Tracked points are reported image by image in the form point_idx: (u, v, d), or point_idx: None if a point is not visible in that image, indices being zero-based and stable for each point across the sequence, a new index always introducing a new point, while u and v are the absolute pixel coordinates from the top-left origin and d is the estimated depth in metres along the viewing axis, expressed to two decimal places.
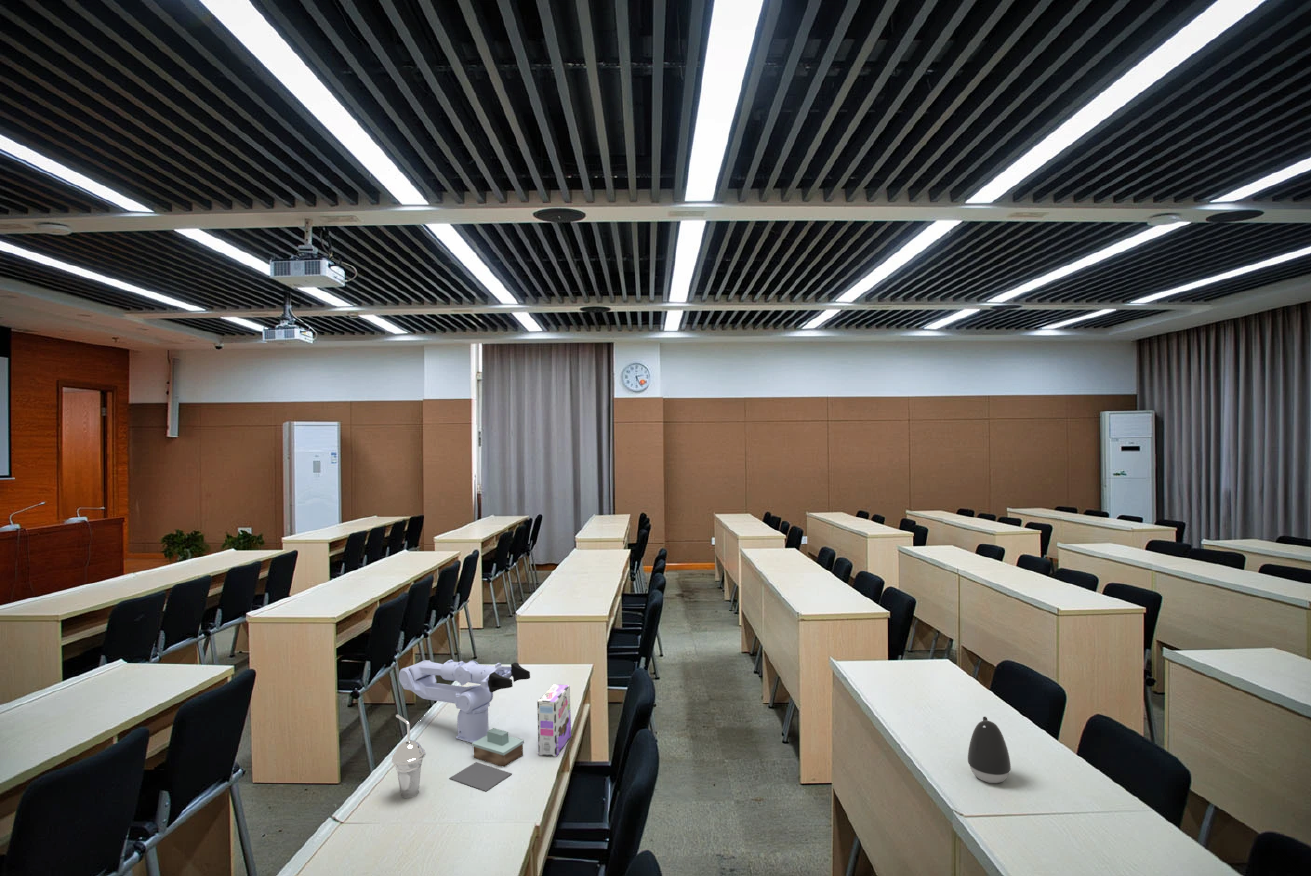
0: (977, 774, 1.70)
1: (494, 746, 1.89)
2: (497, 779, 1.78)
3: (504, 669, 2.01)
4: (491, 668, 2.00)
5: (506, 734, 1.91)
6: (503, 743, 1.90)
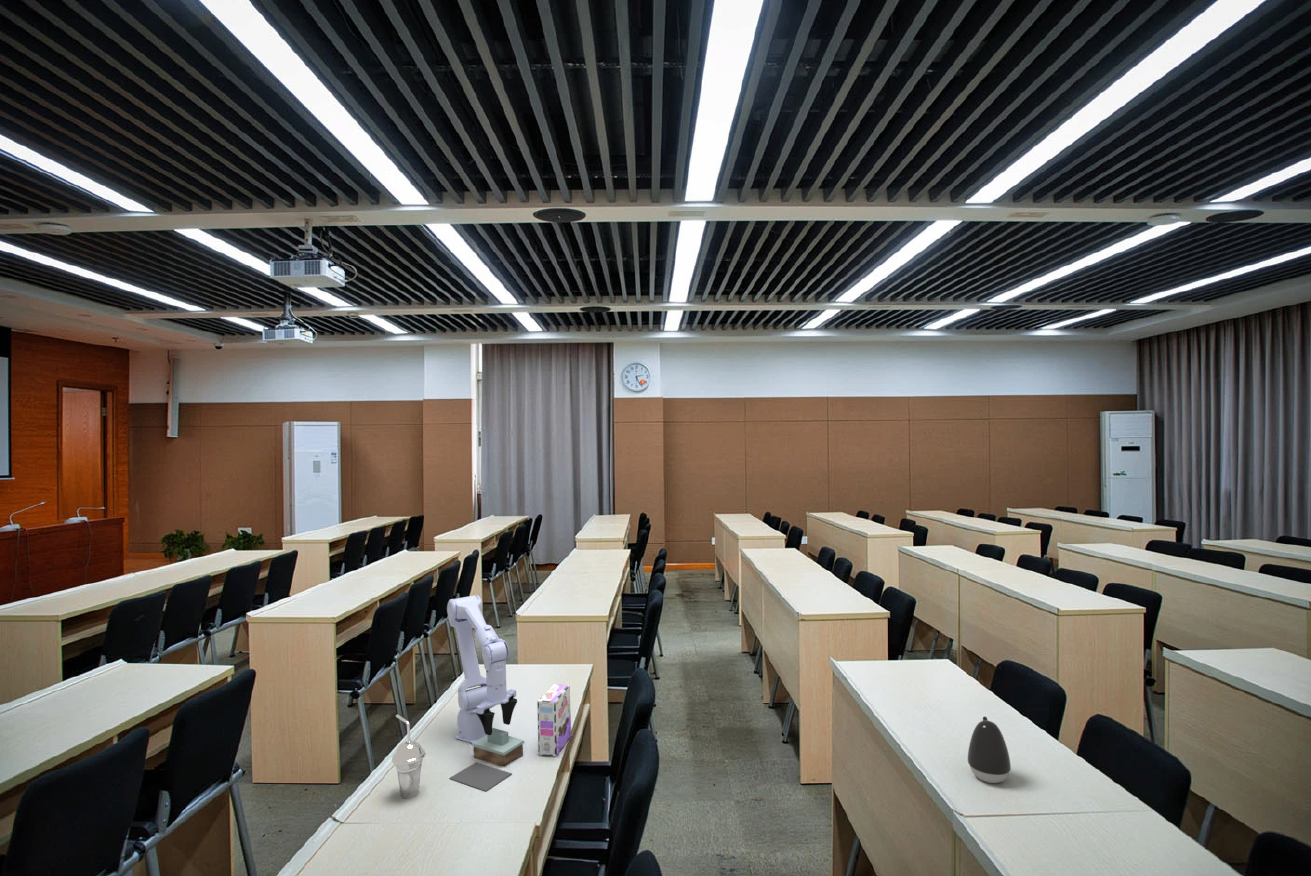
0: (977, 774, 1.70)
1: (494, 746, 1.89)
2: (497, 779, 1.78)
3: None
4: (501, 695, 1.90)
5: (506, 734, 1.91)
6: (503, 743, 1.90)
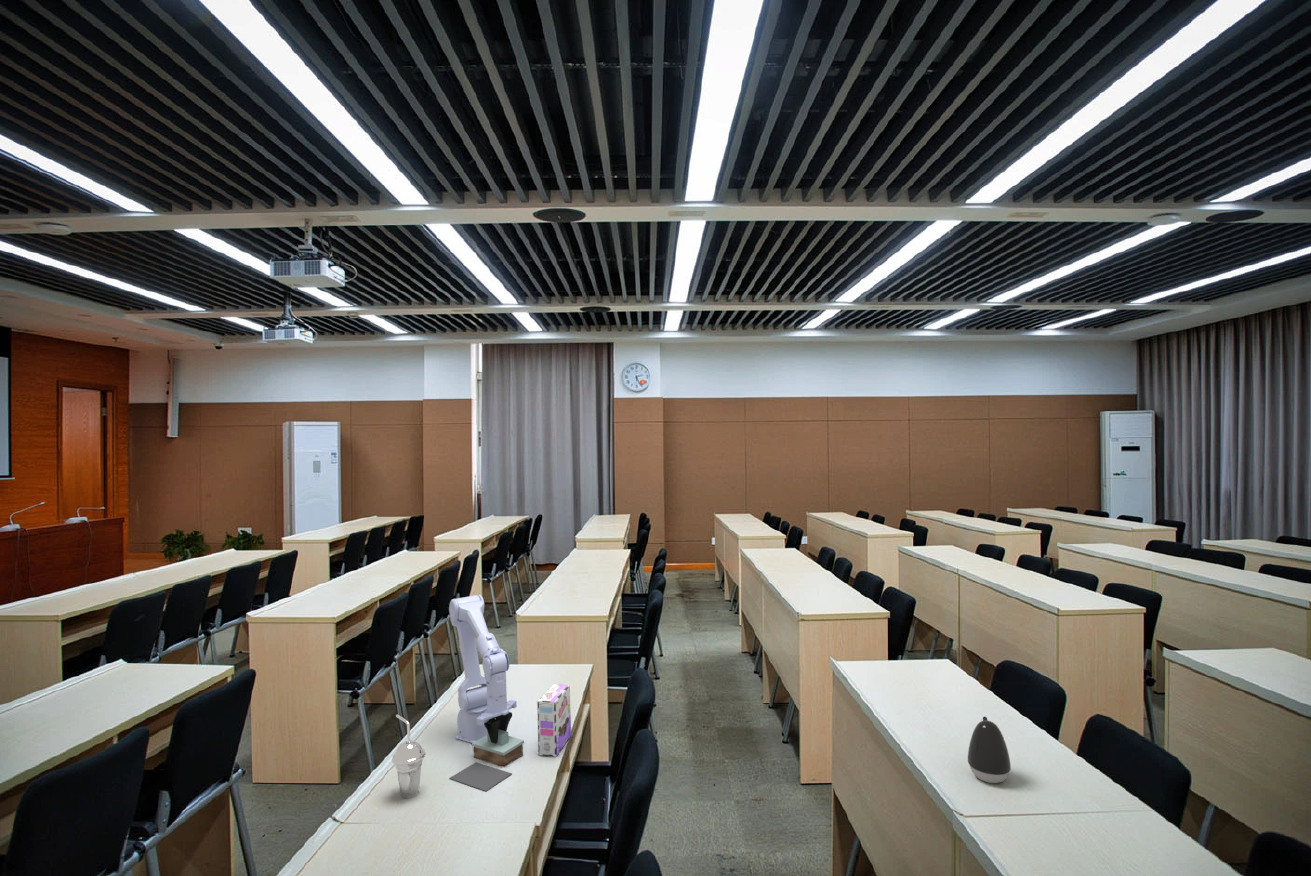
0: (977, 774, 1.70)
1: (494, 746, 1.89)
2: (497, 779, 1.78)
3: None
4: (501, 706, 1.90)
5: (506, 734, 1.91)
6: (503, 743, 1.90)
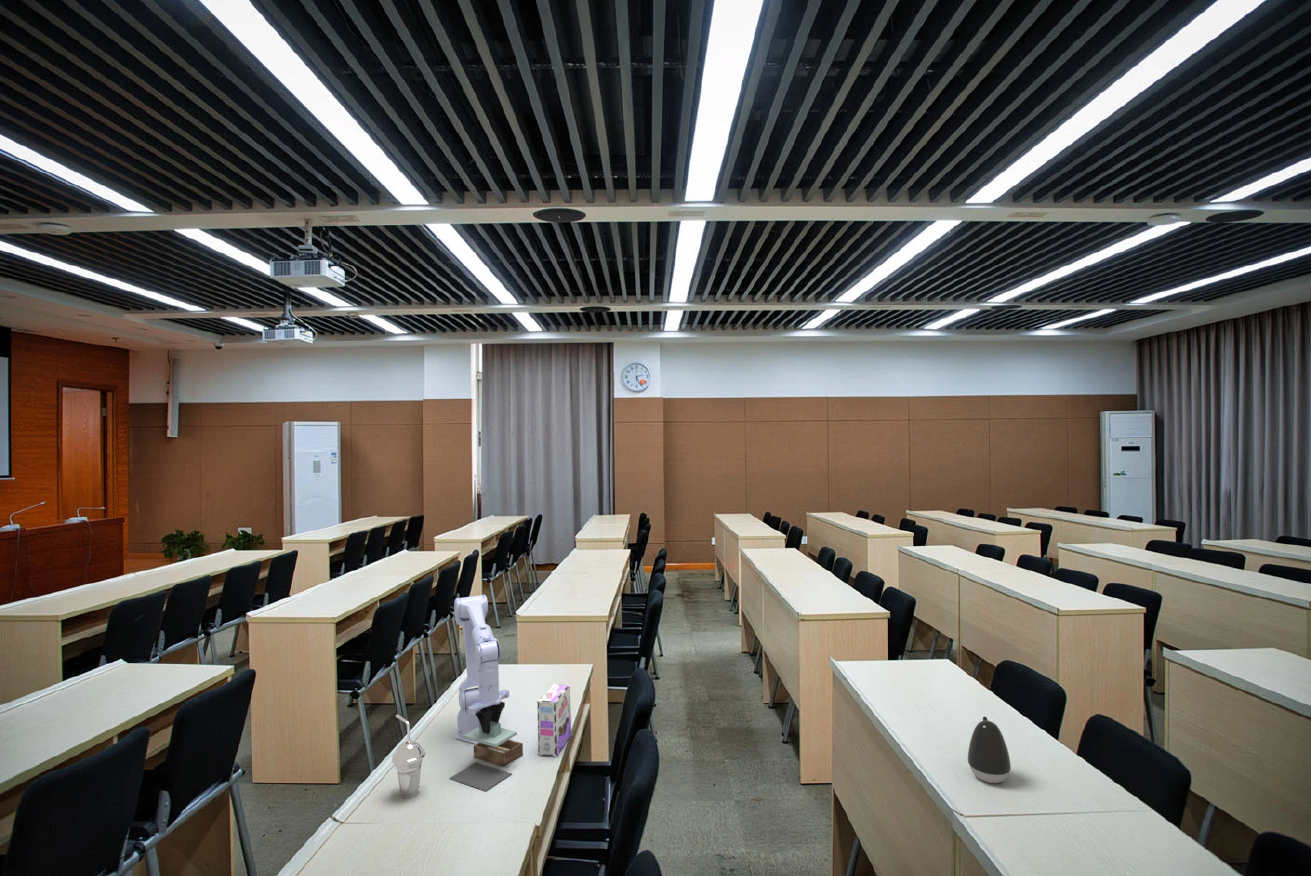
0: (977, 774, 1.70)
1: (486, 738, 1.84)
2: (497, 779, 1.78)
3: None
4: (493, 695, 1.85)
5: (498, 726, 1.86)
6: (495, 735, 1.85)
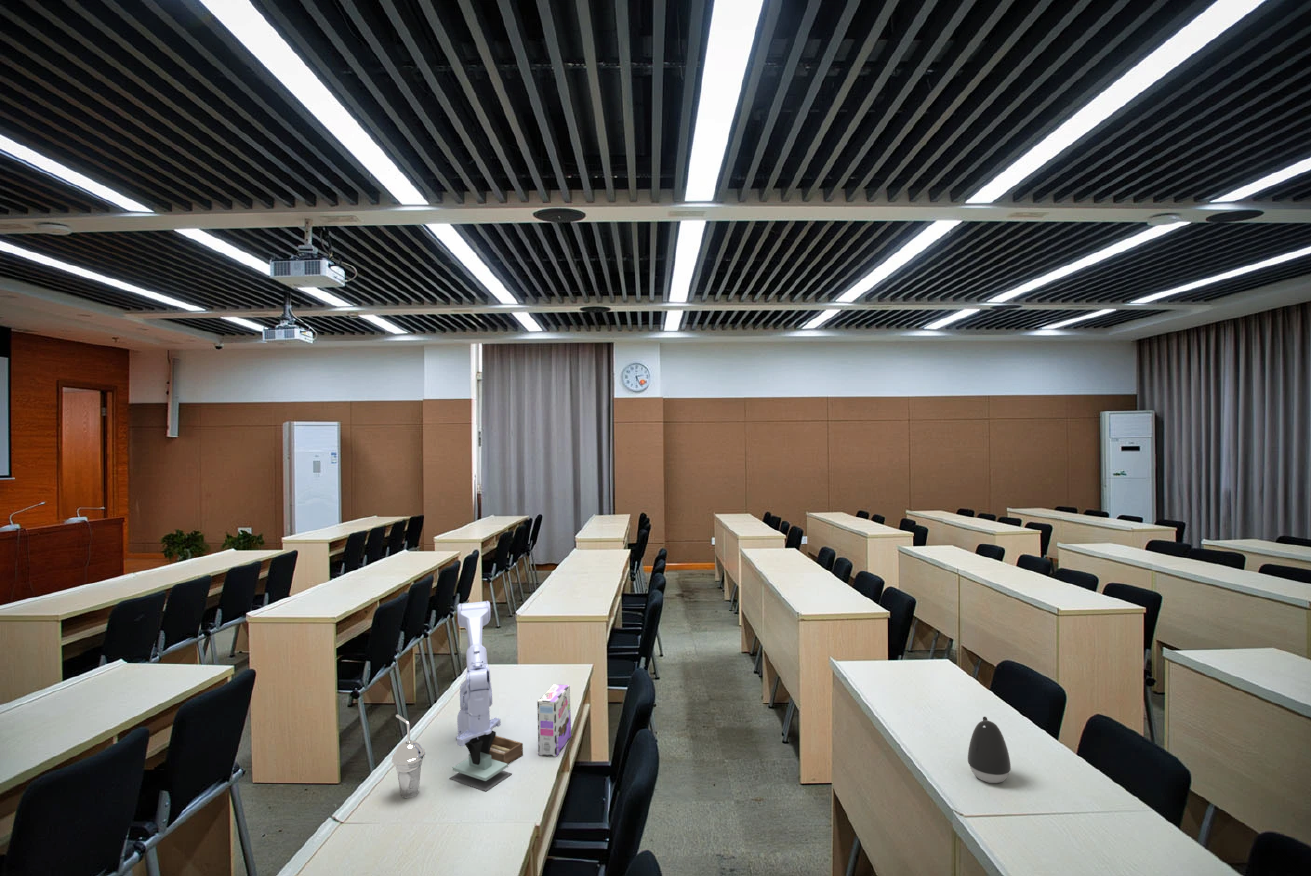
0: (977, 774, 1.70)
1: (476, 771, 1.78)
2: (497, 779, 1.78)
3: None
4: (484, 725, 1.78)
5: (489, 758, 1.79)
6: (485, 767, 1.78)
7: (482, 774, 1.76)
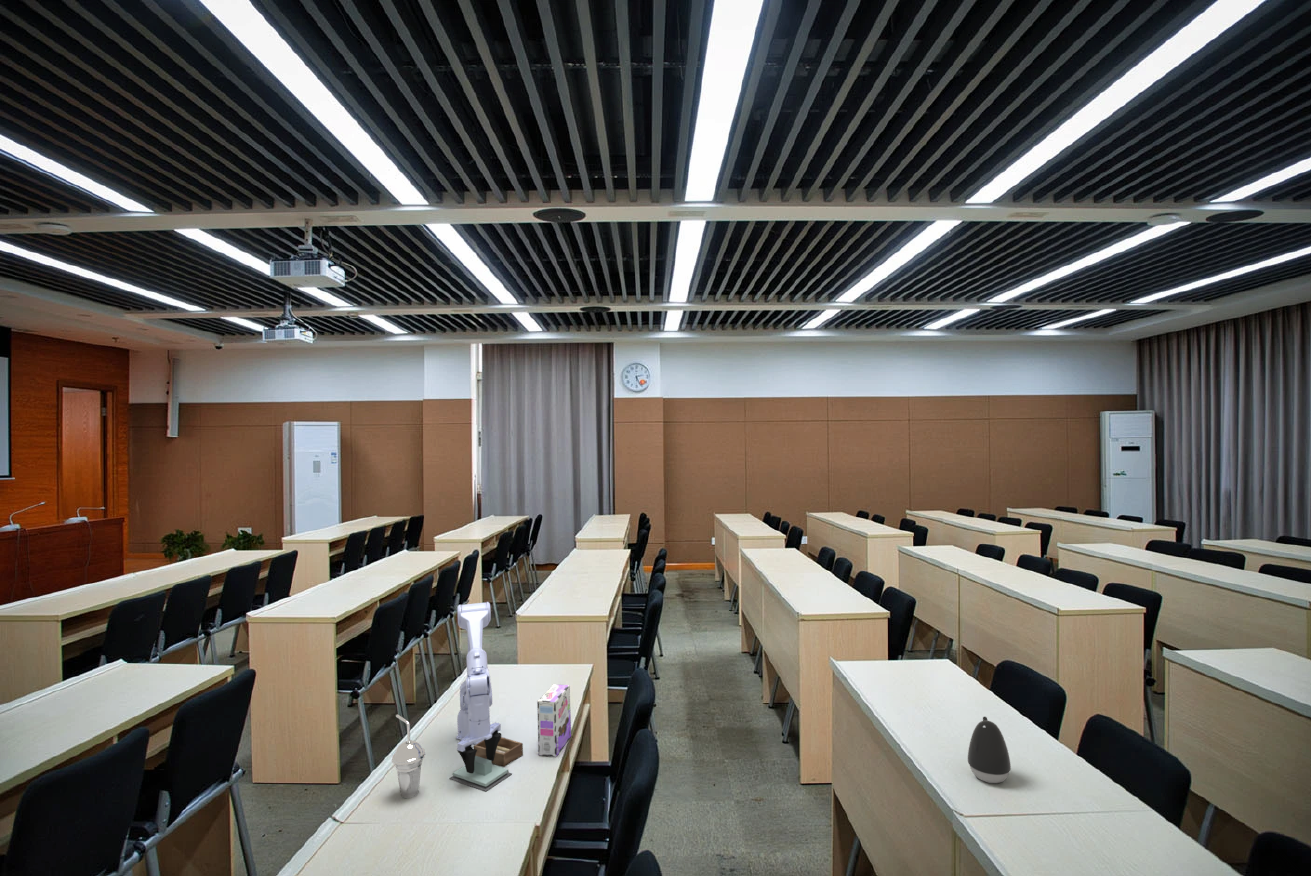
0: (977, 774, 1.70)
1: (476, 776, 1.78)
2: (497, 779, 1.78)
3: None
4: (484, 730, 1.78)
5: (489, 763, 1.79)
6: (486, 773, 1.78)
7: (482, 780, 1.76)
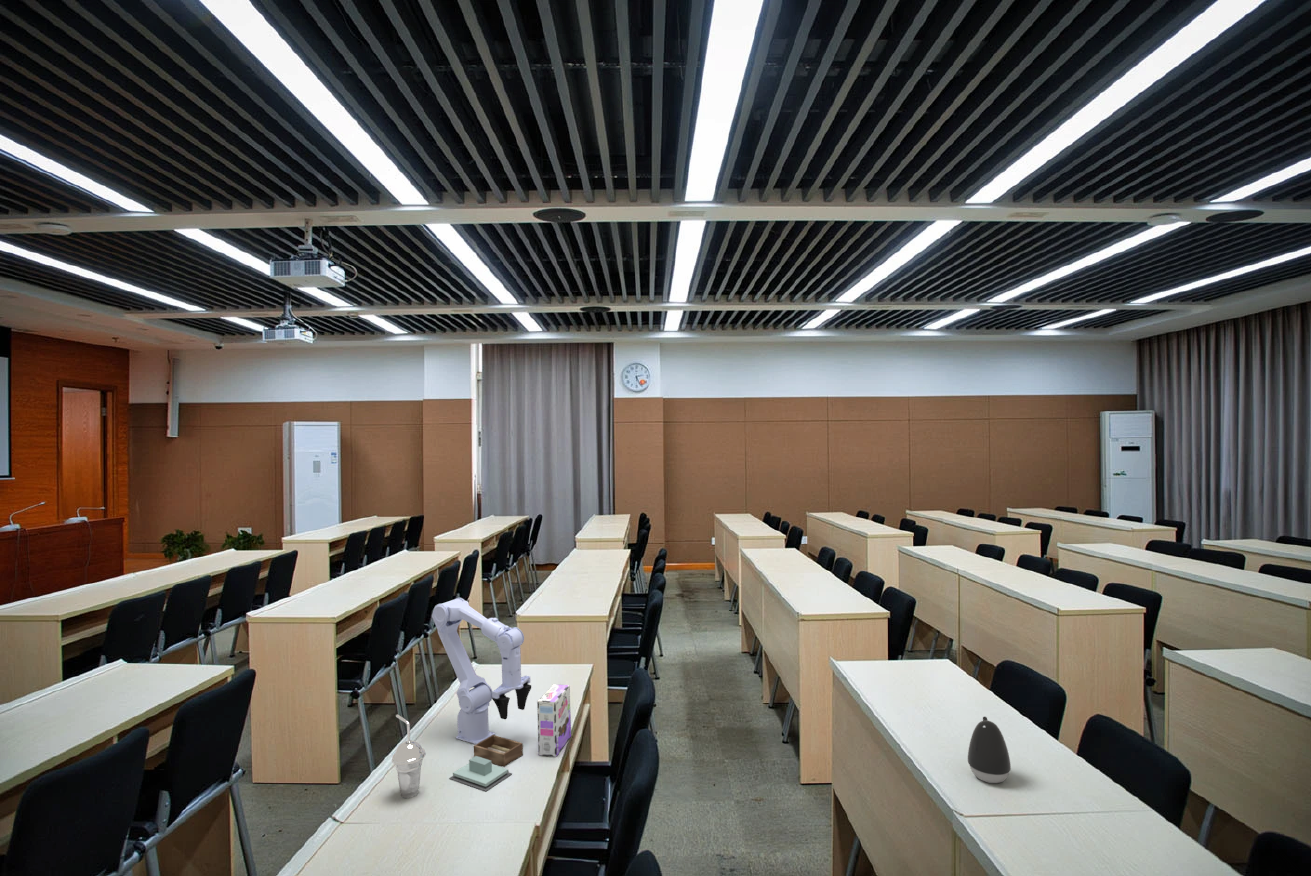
0: (977, 774, 1.70)
1: (476, 776, 1.78)
2: (497, 779, 1.78)
3: None
4: (516, 681, 1.96)
5: (489, 763, 1.79)
6: (486, 773, 1.78)
7: (482, 780, 1.76)
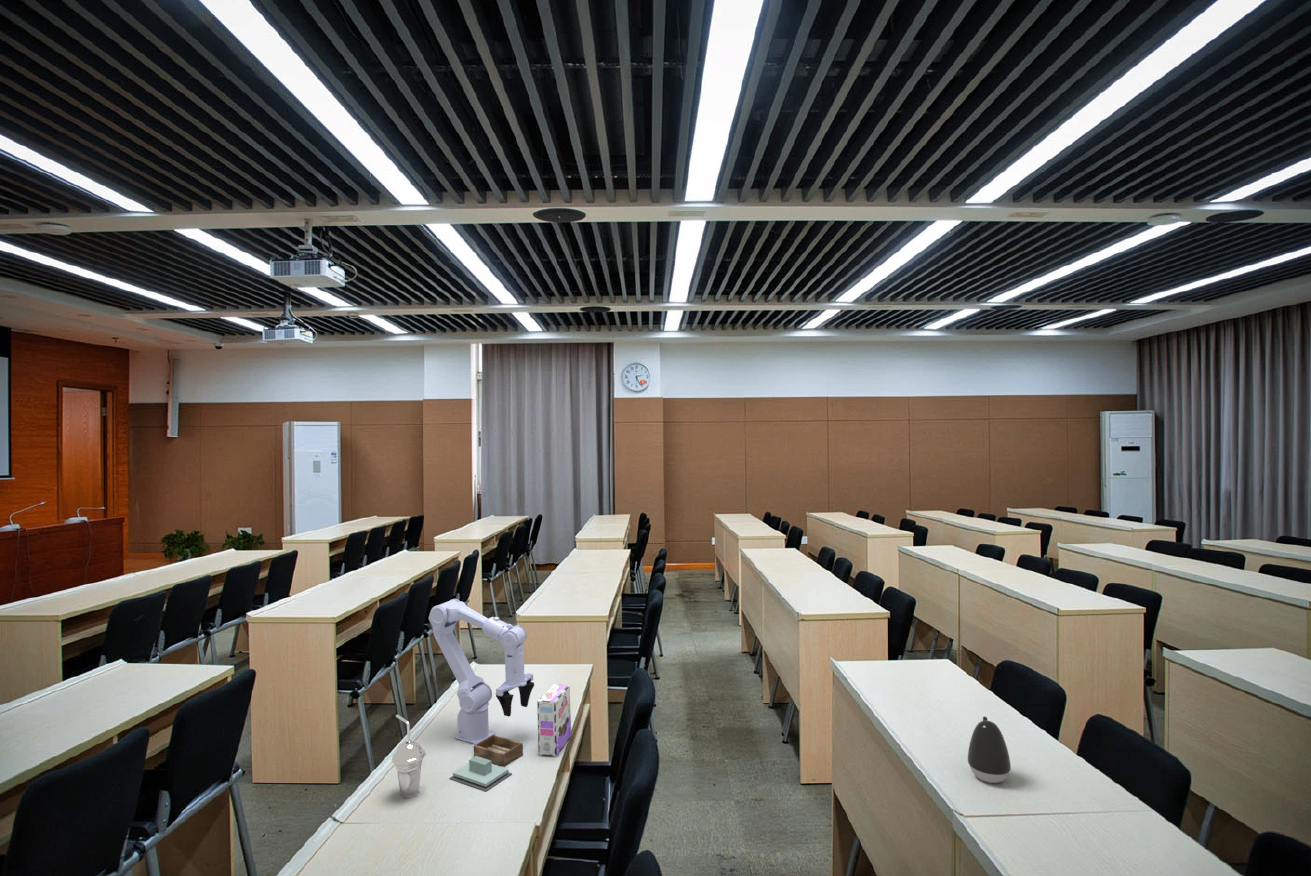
0: (977, 774, 1.70)
1: (476, 776, 1.78)
2: (497, 779, 1.78)
3: None
4: (519, 678, 1.98)
5: (489, 763, 1.79)
6: (486, 773, 1.78)
7: (482, 780, 1.76)
